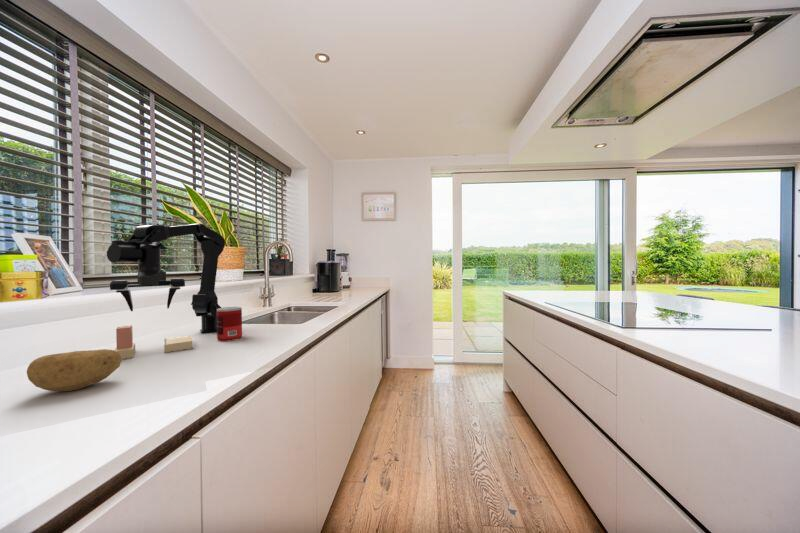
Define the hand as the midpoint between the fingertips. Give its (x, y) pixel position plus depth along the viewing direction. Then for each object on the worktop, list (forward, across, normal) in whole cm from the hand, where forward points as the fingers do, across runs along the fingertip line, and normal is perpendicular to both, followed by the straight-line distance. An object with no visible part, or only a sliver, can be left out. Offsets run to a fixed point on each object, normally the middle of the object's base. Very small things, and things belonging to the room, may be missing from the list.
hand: (150, 309), depth 99 cm
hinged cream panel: (+12, +7, -9) cm, 17 cm away
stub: (+12, -6, -9) cm, 16 cm away
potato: (+12, -11, -36) cm, 40 cm away
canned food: (+12, +22, -7) cm, 26 cm away
